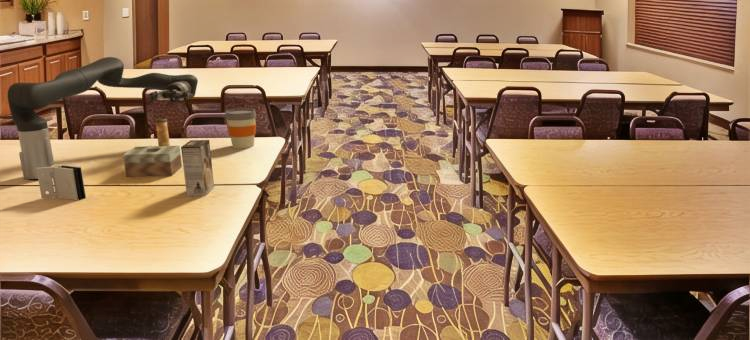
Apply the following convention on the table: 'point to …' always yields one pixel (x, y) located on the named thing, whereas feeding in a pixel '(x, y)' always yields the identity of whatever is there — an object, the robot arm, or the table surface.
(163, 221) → the table surface
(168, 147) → the square hole block
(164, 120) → the key peg
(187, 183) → the coffee box
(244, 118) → the reusable coffee cup
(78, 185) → the hinge
